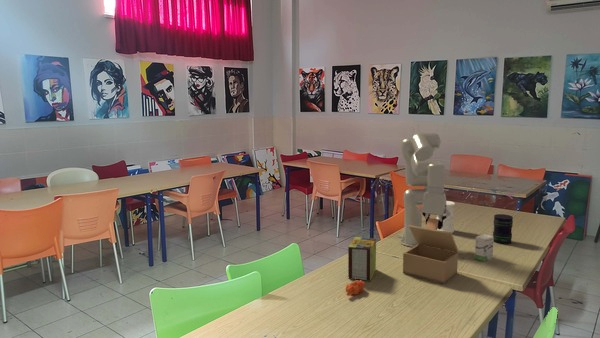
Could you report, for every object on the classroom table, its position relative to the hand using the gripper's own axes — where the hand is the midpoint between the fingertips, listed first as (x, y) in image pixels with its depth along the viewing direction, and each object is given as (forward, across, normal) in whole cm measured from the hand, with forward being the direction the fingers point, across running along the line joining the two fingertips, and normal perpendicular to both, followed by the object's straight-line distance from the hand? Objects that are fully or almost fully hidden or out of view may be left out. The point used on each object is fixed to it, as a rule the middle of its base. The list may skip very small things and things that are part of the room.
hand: (434, 227), depth 208 cm
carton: (+22, 0, -3) cm, 22 cm away
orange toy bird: (+22, -17, -43) cm, 51 cm away
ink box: (+22, +14, +32) cm, 41 cm away
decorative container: (+22, -20, +67) cm, 73 cm away
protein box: (+22, -25, -23) cm, 40 cm away
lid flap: (+6, 0, 0) cm, 6 cm away
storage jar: (+22, +14, +66) cm, 71 cm away
